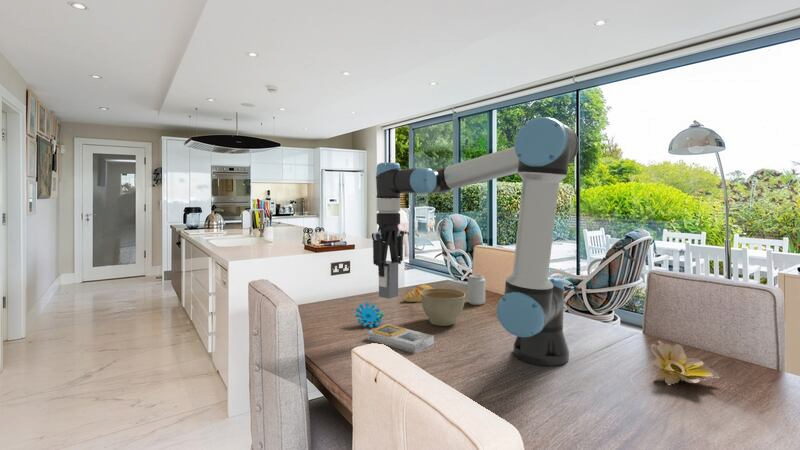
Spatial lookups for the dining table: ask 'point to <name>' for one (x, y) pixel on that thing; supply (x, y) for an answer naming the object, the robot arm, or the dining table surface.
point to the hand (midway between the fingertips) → (388, 284)
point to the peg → (390, 281)
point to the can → (476, 289)
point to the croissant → (416, 293)
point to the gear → (369, 315)
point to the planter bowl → (442, 305)
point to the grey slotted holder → (400, 338)
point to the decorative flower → (679, 365)
